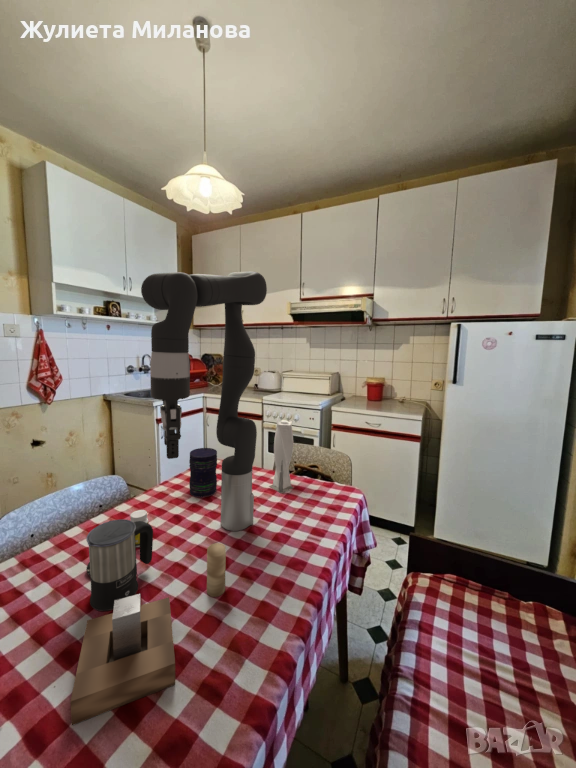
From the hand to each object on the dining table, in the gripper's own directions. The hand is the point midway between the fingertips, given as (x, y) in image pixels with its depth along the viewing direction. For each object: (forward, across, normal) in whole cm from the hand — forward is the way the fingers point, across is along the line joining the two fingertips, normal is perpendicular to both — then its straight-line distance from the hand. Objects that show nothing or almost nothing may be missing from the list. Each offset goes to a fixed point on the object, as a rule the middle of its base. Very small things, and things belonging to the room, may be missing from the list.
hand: (171, 450), depth 65 cm
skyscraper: (+33, +38, -43) cm, 66 cm away
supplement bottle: (+32, +20, +7) cm, 39 cm away
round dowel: (+32, -4, -9) cm, 34 cm away
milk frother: (+32, +7, +13) cm, 36 cm away
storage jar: (+32, +44, -14) cm, 56 cm away
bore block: (+32, -14, +8) cm, 36 cm away
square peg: (+32, -14, +8) cm, 35 cm away
